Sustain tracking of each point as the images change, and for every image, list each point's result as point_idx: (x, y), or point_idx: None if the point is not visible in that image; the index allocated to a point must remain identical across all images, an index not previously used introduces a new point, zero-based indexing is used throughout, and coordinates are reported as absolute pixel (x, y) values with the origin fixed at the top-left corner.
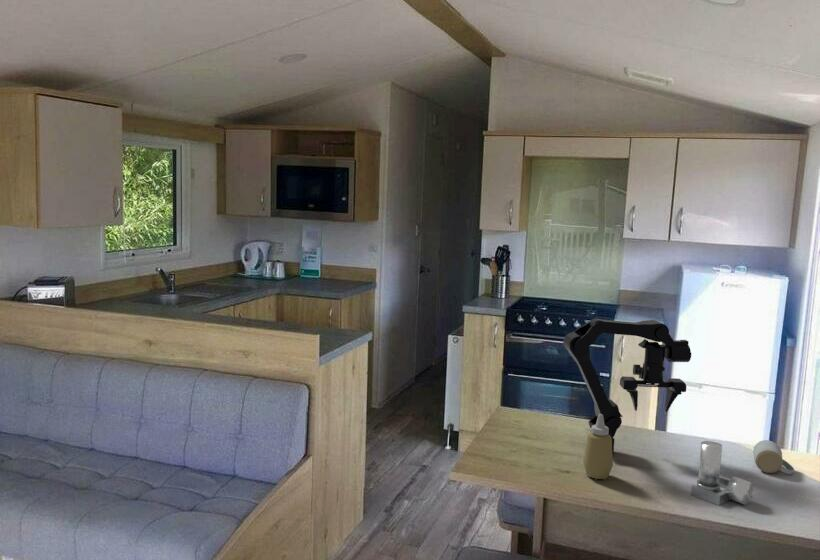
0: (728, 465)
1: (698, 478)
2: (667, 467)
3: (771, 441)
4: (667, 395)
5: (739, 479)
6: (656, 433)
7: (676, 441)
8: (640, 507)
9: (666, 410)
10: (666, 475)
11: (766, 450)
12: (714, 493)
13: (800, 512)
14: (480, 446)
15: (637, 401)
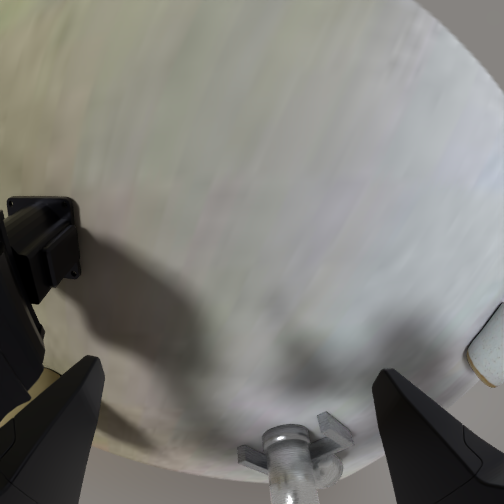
0: (437, 323)
1: (268, 453)
2: (249, 356)
3: None
4: (452, 491)
5: (320, 485)
6: (378, 6)
7: (422, 110)
8: (133, 459)
9: (375, 404)
10: (221, 394)
11: (493, 385)
12: (267, 472)
13: (380, 451)
14: None
15: (82, 478)
